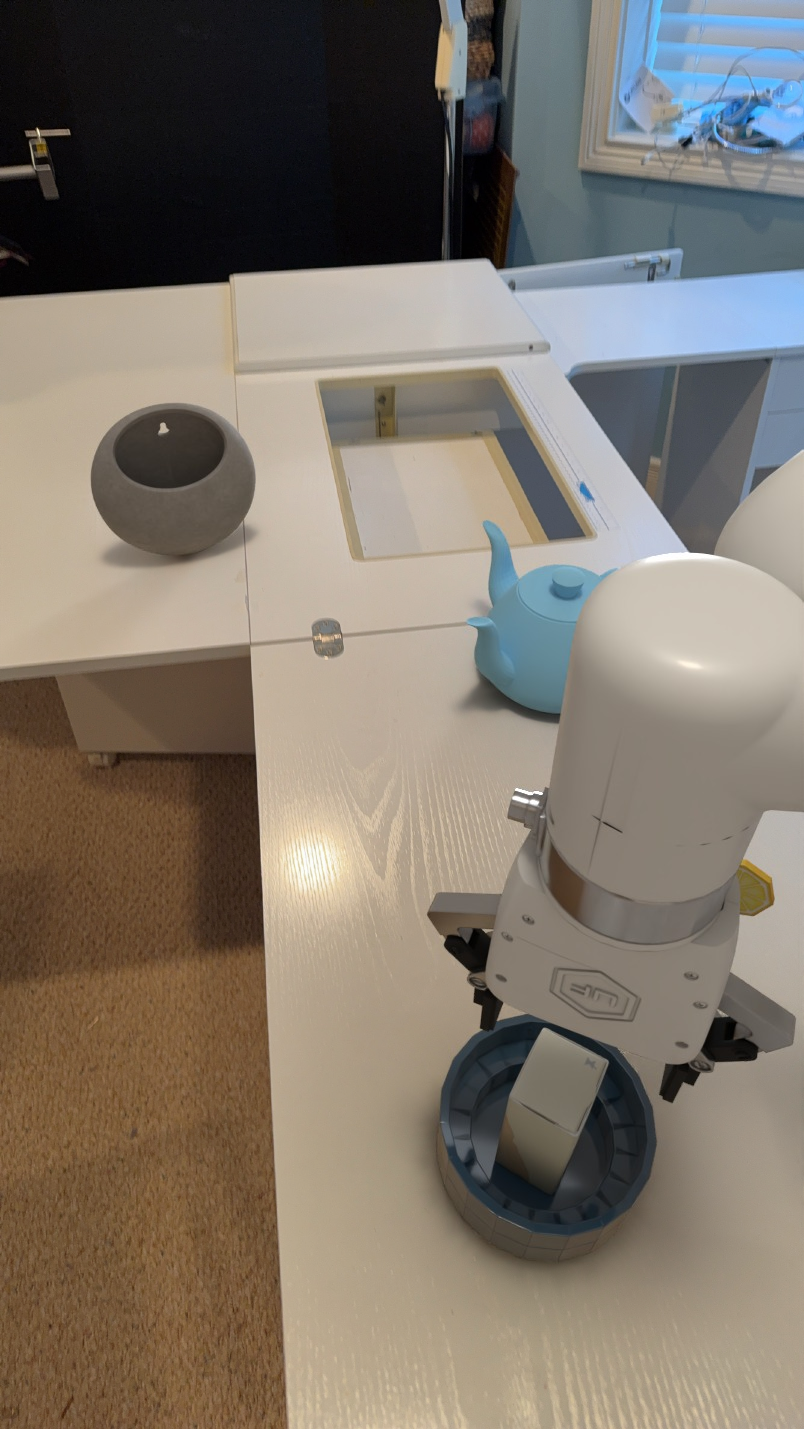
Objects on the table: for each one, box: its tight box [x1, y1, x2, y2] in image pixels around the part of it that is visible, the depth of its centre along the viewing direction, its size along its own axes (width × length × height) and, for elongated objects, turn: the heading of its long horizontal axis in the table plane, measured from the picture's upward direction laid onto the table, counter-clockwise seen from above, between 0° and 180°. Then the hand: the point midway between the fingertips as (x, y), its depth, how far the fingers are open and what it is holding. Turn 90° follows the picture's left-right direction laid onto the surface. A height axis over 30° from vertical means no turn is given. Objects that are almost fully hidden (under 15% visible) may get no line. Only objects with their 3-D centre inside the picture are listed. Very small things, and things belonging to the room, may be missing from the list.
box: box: [495, 1028, 609, 1195], centre depth 54 cm, size 5×4×11 cm
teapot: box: [465, 519, 620, 715], centre depth 88 cm, size 17×19×12 cm
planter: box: [90, 402, 257, 556], centre depth 100 cm, size 18×7×19 cm, turn 110°
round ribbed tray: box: [436, 1013, 658, 1263], centre depth 56 cm, size 13×13×6 cm
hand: (580, 1039), depth 47 cm, fingers open, 9 cm apart
